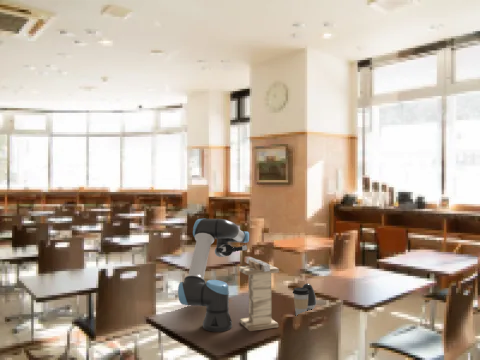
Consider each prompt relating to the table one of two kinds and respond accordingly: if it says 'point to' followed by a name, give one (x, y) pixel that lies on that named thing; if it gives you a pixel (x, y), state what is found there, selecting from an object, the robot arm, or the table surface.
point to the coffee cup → (300, 299)
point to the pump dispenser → (310, 296)
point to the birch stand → (259, 297)
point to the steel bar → (263, 265)
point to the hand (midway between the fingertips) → (235, 248)
